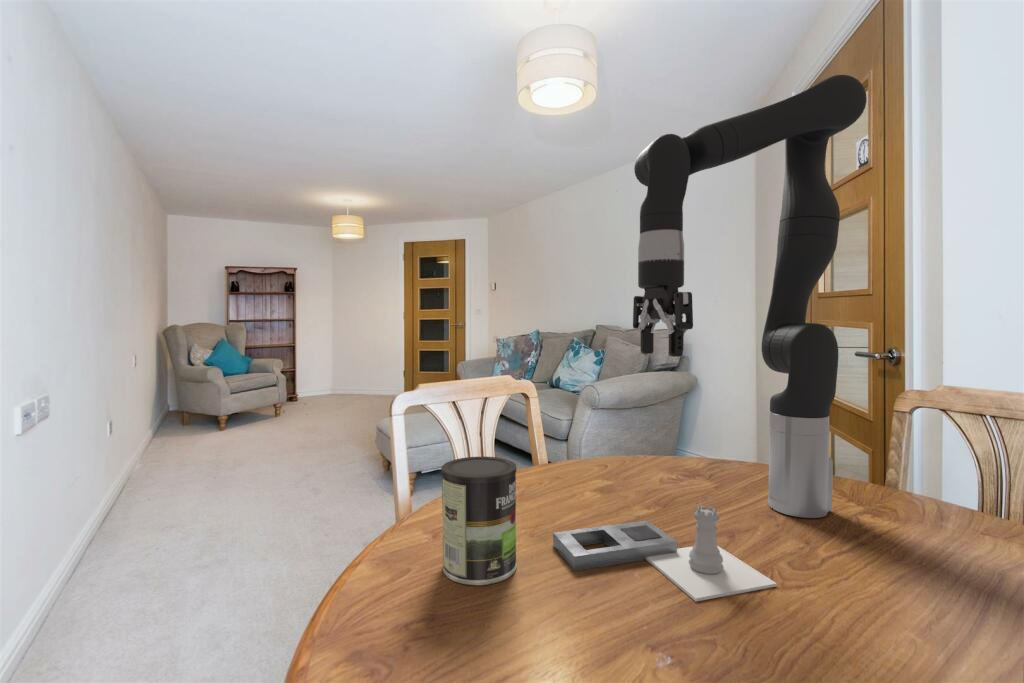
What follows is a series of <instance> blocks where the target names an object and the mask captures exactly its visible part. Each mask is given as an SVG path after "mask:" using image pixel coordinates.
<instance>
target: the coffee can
mask: <svg viewBox="0 0 1024 683" xmlns="http://www.w3.org/2000/svg"><path fill="white" fill-rule="evenodd" d="M440 473H441V477H442V478H441V481H442V485H441V487H442V489H441V491H442V493H441V496H442V497H441V499H442V560H443V561H442V572H443V574H444V576H446V578H447V579H450V580H451V581H453V582H455V583H458V584H462V585H465V586H467V585H468V586H487V585H493V584H497V583H500V582H503V581H505V580H507V579H509V578H510V577H511V576H513V575H514V574H515V572H516V570H517V533H516V532H517V531H516V530H517V525H516V524H517V521H516V520H517V515H516V513H517V508H516V507H517V494H516V493H517V492H516V491H517V485H516V484H517V482H516V478H517V476H516V475H517V464H516V463H515V462H514V461H512V460H509V459H506V458H501V457H496V456H468V457H460V458H457V459H453V460H450V461H447V462H445V463H443V464H442V465H441V467H440Z"/></svg>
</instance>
